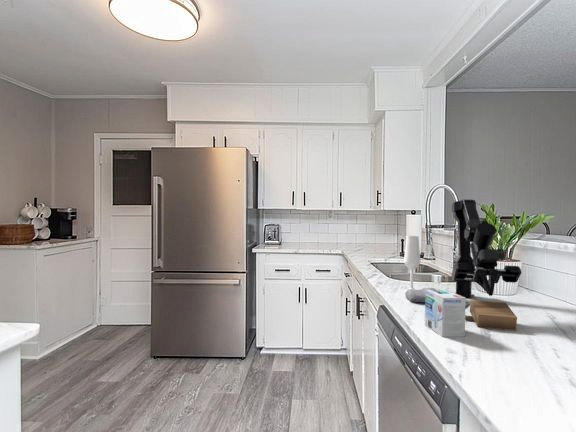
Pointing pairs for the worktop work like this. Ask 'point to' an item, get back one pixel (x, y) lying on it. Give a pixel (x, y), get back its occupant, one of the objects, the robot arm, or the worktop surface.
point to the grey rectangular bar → (469, 318)
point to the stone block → (417, 294)
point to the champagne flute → (412, 256)
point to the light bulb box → (445, 313)
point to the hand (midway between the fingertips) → (491, 295)
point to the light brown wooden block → (493, 315)
